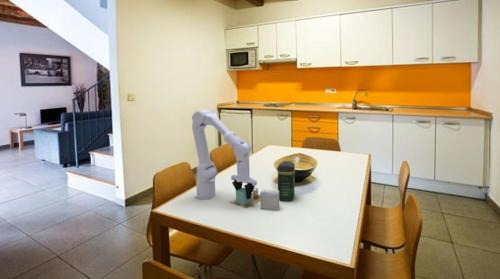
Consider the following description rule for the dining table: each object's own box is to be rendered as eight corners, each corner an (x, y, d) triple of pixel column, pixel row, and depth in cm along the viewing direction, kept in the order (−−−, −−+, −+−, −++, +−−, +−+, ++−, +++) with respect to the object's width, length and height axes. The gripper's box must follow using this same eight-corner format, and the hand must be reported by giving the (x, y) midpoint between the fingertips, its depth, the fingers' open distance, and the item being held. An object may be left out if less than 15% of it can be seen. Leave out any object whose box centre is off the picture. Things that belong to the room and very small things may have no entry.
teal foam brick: (236, 202, 141) (235, 190, 140) (243, 199, 144) (243, 187, 143) (244, 205, 137) (243, 193, 136) (251, 202, 141) (251, 189, 140)
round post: (251, 197, 147) (251, 189, 146) (255, 196, 149) (255, 187, 148) (255, 199, 145) (255, 190, 144) (259, 197, 147) (259, 188, 146)
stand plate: (230, 204, 142) (230, 202, 141) (253, 194, 153) (253, 193, 153) (246, 209, 135) (246, 208, 135) (268, 199, 147) (268, 197, 146)
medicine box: (279, 208, 136) (279, 189, 134) (277, 212, 132) (277, 193, 130) (262, 206, 138) (262, 188, 136) (260, 210, 134) (260, 192, 132)
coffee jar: (293, 203, 140) (293, 165, 137) (276, 202, 142) (275, 164, 139) (295, 196, 149) (295, 160, 146) (280, 195, 151) (279, 159, 148)
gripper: (226, 168, 140) (227, 195, 142) (249, 173, 130) (250, 203, 133) (236, 165, 145) (237, 191, 148) (259, 170, 135) (260, 198, 138)
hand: (244, 197), depth 141 cm, fingers open, 5 cm apart
